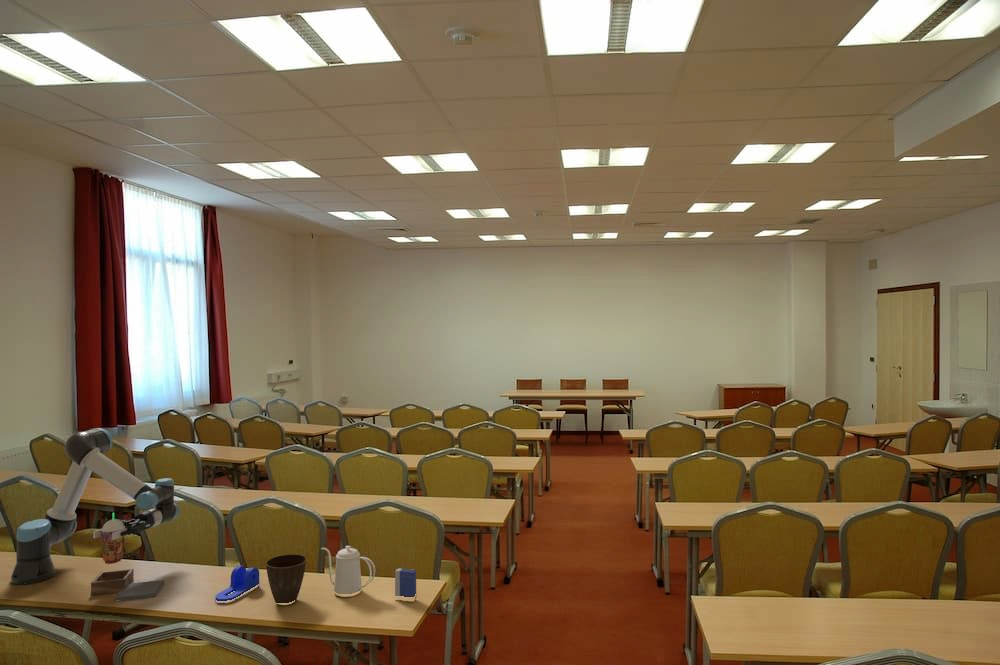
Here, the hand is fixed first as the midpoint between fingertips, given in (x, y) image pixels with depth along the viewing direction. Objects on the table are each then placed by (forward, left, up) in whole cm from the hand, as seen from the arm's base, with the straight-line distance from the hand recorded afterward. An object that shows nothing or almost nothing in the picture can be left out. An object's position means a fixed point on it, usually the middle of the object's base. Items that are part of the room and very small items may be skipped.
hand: (103, 535), depth 247 cm
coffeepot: (+29, +94, -23) cm, 101 cm away
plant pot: (+31, +71, -23) cm, 81 cm away
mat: (+4, +14, -23) cm, 27 cm away
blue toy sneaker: (+17, +52, -23) cm, 59 cm away
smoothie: (-4, +2, -12) cm, 13 cm away
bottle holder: (-4, +2, -23) cm, 23 cm away
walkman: (+43, +116, -23) cm, 126 cm away
